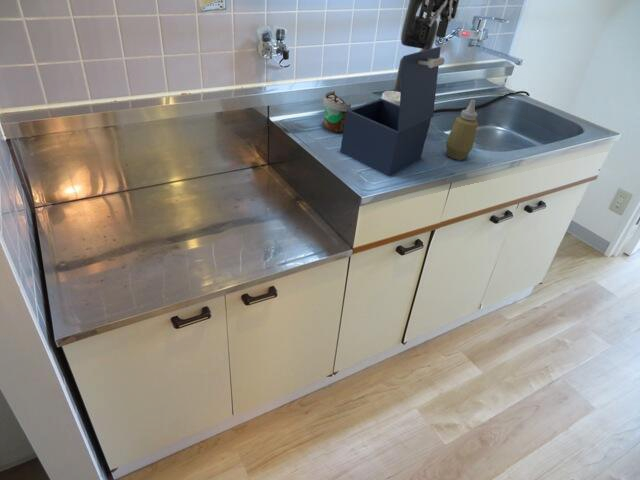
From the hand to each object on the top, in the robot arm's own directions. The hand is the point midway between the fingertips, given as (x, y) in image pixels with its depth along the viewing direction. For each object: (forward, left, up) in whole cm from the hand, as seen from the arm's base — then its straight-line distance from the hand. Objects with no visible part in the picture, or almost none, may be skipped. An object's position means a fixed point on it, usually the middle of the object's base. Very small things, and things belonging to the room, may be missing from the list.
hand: (431, 39), depth 118 cm
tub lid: (+1, 0, -13) cm, 13 cm away
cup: (-16, -16, -36) cm, 42 cm away
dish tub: (+1, -7, -35) cm, 36 cm away
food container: (-1, -29, -36) cm, 46 cm away
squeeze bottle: (-19, +8, -36) cm, 41 cm away
